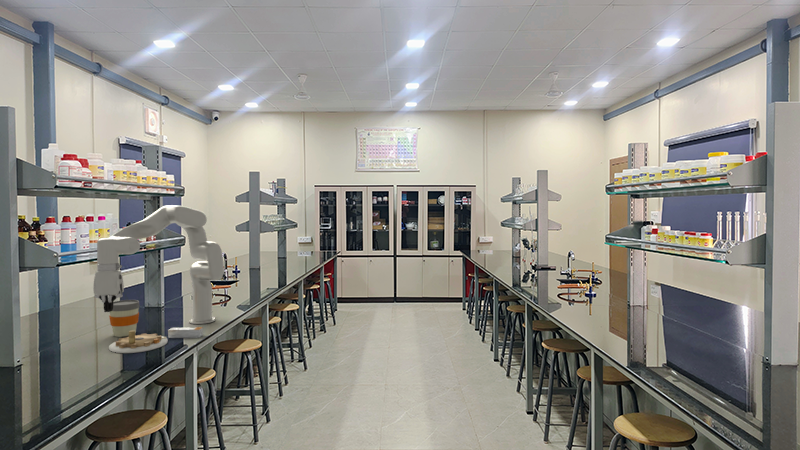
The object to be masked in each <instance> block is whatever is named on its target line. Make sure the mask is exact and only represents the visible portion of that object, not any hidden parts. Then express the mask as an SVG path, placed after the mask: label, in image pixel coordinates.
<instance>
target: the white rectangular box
mask: <svg viewBox="0 0 800 450" xmlns="http://www.w3.org/2000/svg"><path fill="white" fill-rule="evenodd" d="M203 329H204V328H203V326H197V327H171V328H170V329H167V335H168V336H167V337H168V338H167V339H197V338H198V339H199V338H201V337H202V336H203V335H204V334H203V333H204V332H203V331H204V330H203Z"/></svg>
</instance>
